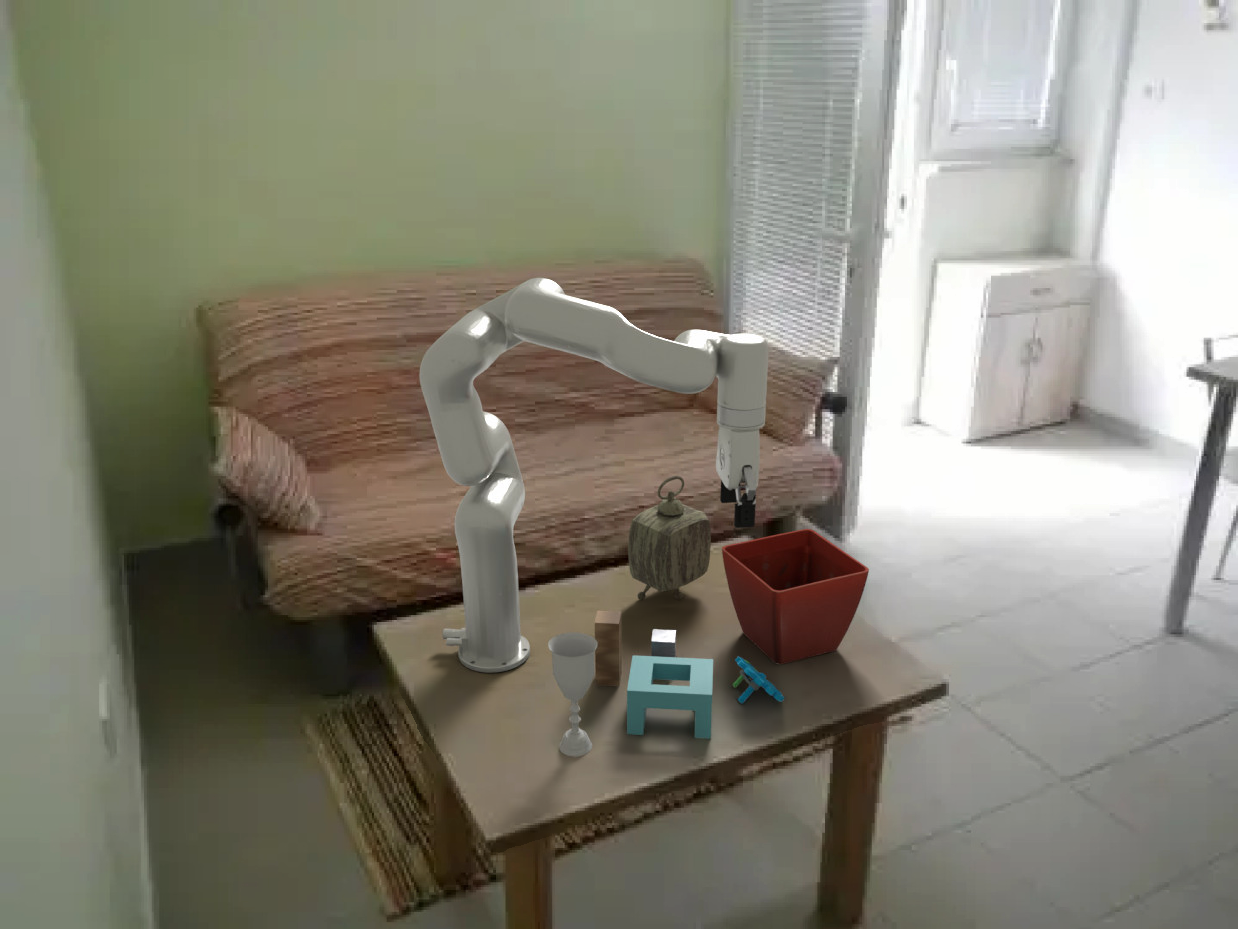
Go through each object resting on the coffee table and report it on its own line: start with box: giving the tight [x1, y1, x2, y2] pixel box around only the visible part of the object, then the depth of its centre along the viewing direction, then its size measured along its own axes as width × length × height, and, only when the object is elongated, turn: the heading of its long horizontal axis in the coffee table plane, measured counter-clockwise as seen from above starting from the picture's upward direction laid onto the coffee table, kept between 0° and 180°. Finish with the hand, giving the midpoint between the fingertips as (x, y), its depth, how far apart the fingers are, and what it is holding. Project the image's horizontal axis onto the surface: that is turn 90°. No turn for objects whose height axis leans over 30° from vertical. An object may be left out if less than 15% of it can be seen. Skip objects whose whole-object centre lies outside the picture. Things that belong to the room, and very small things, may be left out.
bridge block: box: [626, 654, 714, 739], centre depth 163 cm, size 13×10×8 cm
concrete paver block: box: [650, 628, 677, 657], centre depth 178 cm, size 4×4×6 cm
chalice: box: [547, 631, 598, 757], centre depth 155 cm, size 7×7×18 cm
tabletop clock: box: [627, 475, 712, 601], centre depth 198 cm, size 14×9×25 cm, turn 133°
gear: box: [732, 656, 786, 705], centre depth 169 cm, size 11×6×10 cm
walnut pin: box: [594, 610, 623, 687], centre depth 173 cm, size 4×4×12 cm
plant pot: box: [721, 528, 870, 665], centre depth 183 cm, size 19×19×17 cm
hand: (736, 514), depth 167 cm, fingers open, 9 cm apart
